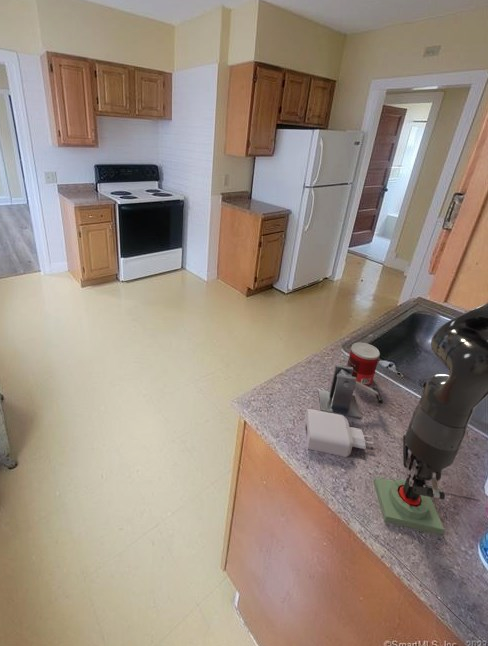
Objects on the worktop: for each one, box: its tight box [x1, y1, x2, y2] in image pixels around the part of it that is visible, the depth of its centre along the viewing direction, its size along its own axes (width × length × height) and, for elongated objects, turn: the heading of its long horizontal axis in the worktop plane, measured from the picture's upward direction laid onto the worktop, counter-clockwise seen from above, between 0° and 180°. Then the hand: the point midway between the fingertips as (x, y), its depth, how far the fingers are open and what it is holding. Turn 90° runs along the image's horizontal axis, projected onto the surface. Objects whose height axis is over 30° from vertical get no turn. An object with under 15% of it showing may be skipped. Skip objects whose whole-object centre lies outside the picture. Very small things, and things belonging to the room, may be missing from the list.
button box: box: [373, 476, 445, 536], centre depth 64 cm, size 10×8×4 cm
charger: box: [304, 408, 374, 458], centre depth 78 cm, size 5×9×15 cm
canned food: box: [346, 342, 381, 387], centre depth 97 cm, size 8×8×11 cm
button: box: [398, 486, 420, 507], centre depth 64 cm, size 4×4×2 cm
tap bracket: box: [317, 364, 362, 420], centre depth 87 cm, size 10×8×12 cm
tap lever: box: [337, 369, 384, 405], centre depth 85 cm, size 12×5×2 cm, turn 77°
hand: (409, 495), depth 63 cm, fingers closed
